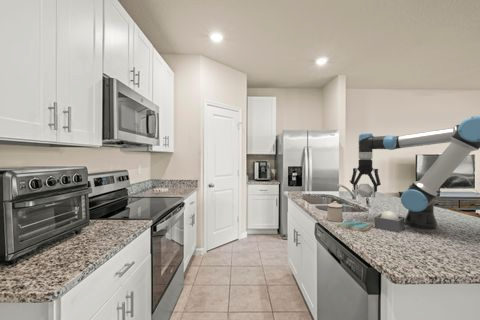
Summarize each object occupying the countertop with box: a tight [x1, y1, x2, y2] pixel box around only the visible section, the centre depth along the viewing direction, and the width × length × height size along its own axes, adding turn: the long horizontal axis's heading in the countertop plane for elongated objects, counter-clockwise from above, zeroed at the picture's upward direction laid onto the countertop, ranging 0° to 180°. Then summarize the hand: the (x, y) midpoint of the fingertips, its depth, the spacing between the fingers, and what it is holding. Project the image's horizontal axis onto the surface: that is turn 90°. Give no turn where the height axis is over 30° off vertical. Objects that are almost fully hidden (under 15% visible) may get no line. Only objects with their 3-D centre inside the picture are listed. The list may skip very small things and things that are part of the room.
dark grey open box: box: [374, 213, 406, 234], centre depth 139 cm, size 12×12×6 cm
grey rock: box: [357, 183, 373, 198], centre depth 153 cm, size 8×9×10 cm
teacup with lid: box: [326, 200, 344, 223], centre depth 157 cm, size 12×9×12 cm
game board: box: [337, 219, 374, 233], centre depth 141 cm, size 14×14×1 cm
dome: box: [380, 210, 400, 221], centre depth 139 cm, size 9×9×9 cm
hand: (365, 196), depth 153 cm, fingers closed on grey rock, 9 cm apart
